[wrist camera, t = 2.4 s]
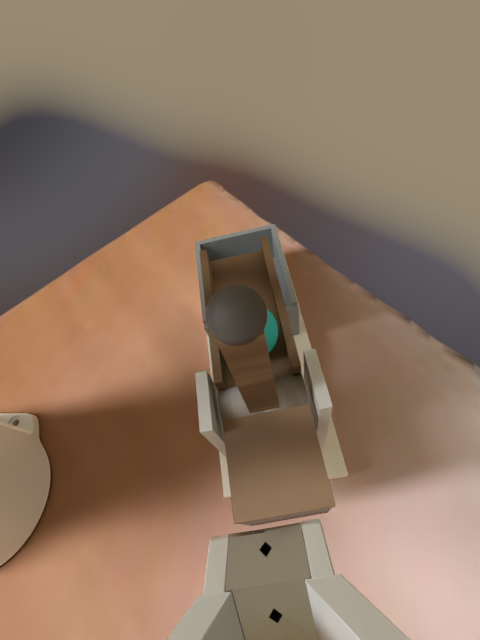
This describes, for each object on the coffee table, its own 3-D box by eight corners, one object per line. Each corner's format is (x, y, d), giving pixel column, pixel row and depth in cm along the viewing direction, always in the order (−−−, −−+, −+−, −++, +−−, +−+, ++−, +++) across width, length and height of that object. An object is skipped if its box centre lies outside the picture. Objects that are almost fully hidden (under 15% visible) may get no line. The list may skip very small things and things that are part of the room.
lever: (328, 512, 25) (365, 476, 10) (250, 525, 26) (163, 512, 10) (274, 295, 36) (250, 111, 20) (220, 306, 36) (155, 135, 21)
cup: (299, 334, 41) (298, 306, 36) (215, 351, 42) (203, 326, 37) (278, 256, 48) (274, 223, 43) (206, 272, 48) (194, 241, 43)
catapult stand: (346, 476, 34) (376, 434, 20) (226, 498, 34) (170, 473, 20) (283, 256, 50) (274, 144, 35) (202, 273, 50) (161, 171, 36)
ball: (219, 365, 25) (206, 339, 22) (233, 318, 27) (222, 287, 24) (274, 374, 24) (269, 348, 21) (284, 325, 26) (281, 293, 23)
